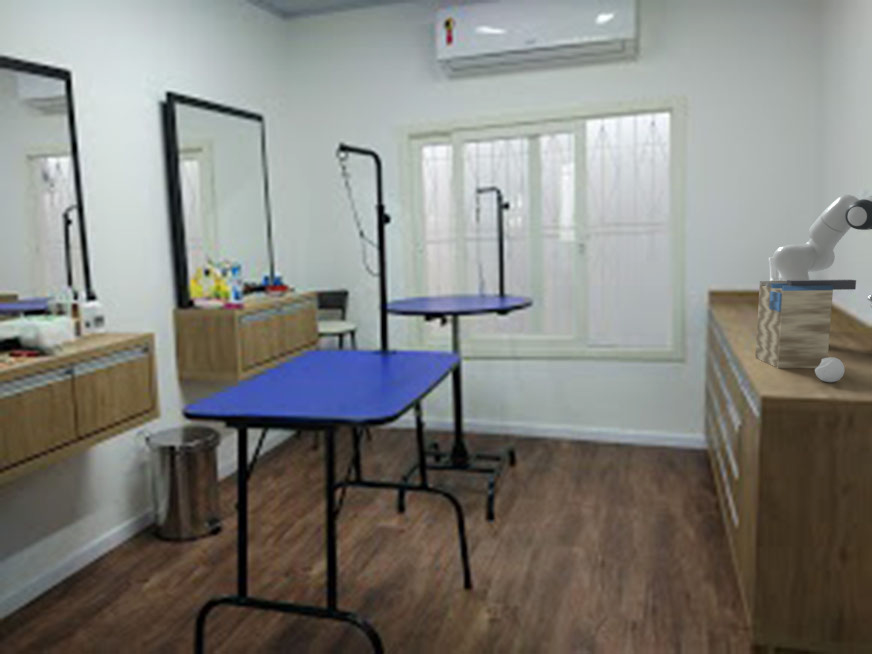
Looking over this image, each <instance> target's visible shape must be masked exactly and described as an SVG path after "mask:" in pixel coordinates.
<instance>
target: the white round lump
mask: <svg viewBox="0 0 872 654" xmlns="http://www.w3.org/2000/svg"><path fill="white" fill-rule="evenodd" d="M814 373H815V376H816V377H817V378H818V379H819V380H821V381H822V382H826V383H836V382H838V381H839V380H840V379H842V377H843V376H844V374H845V366H844V363H843V362H842V360H841V359H840V358H837V357H835V356H832V357H829V356H828V358H824V359H821V363H820V365H819V366H818V367H817V368H814Z"/></svg>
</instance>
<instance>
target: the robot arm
mask: <svg viewBox="0 0 872 654" xmlns="http://www.w3.org/2000/svg"><path fill="white" fill-rule="evenodd" d="M851 228H852V229H855V230H862V231H868V230H869V231H870V230H872V195H871V196H868V197H865V198H862V199H860V198H857V197H856V196H854V195H851V194H843V195H840V196H839V197H837V198H835V200H834V201H833V202H831V204H829V205H828V206H827V207H826V208H825V209H824V210H823V211H822V212H821V213H820V215H818V217H817V218H816V219H815V221H814V222H813V224H811V226H810V227H809V229H808V234H809V237H810V238H809V239H808V241H807V242H805V243H801V244H800V243H799V244H797V243H796V244H795V243H793V244H786V245H784V246H780V247H778V248H777V249H776V250H774V253H773V255H772V257H773V264H774V266H775V268H776V269H777V270H778V271H779V272H780V273H781V275H782V277H783V280H784V281H787V280H811V279H810V276H809V273H810V272H812V273H813V272H815V273H816V272H820V271H823V270H826V269H829V268H831V266H833V264H834V262H835V252H834V249H835V247H836V246H837V245H838V243H839V242H840V240H841V239H843V237H844V236H845V235H846V234H847V233H848V231H849V230H850V229H851ZM866 299H867V300H868V301H869V302H870V303H871V304H870V308H872V294H869V295H868V296H867V297H866Z"/></svg>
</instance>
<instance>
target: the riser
mask: <svg viewBox="0 0 872 654" xmlns="http://www.w3.org/2000/svg"><path fill="white" fill-rule="evenodd" d="M833 293H834V290H833V286H832V285H823V286H787V281H770V280H759V292H758V303H757V304H758V306H757V307H758V308H757V321H756V323H757V324H756V341H755V357H756V358H755V359H757V358H758V359H757V360H759V359H760V361H761V360H762V362H764V361H765V362H764V363H766V362H767V363H766V364H768V363H769V364H768V365H770V364H771V365H770V366H772V365H773V366H772V367H774V366H775V367H774V368H776V367H778V368H777V369H816V368H817V367H818V366H819V365H820V363H821V359H824V358H829V345H830V334H831V318H832V308H833V307H832V306H833V296H834V294H833Z"/></svg>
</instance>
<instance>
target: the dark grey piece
mask: <svg viewBox="0 0 872 654" xmlns="http://www.w3.org/2000/svg"><path fill="white" fill-rule="evenodd" d="M856 284H857V280H856V279H810V280H787V286H823V285H832V286H833V291H834V290H837V291H839V290H841V291H842V290H843V291H845V290H848V291H849V290H856V287H857V285H856Z"/></svg>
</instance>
